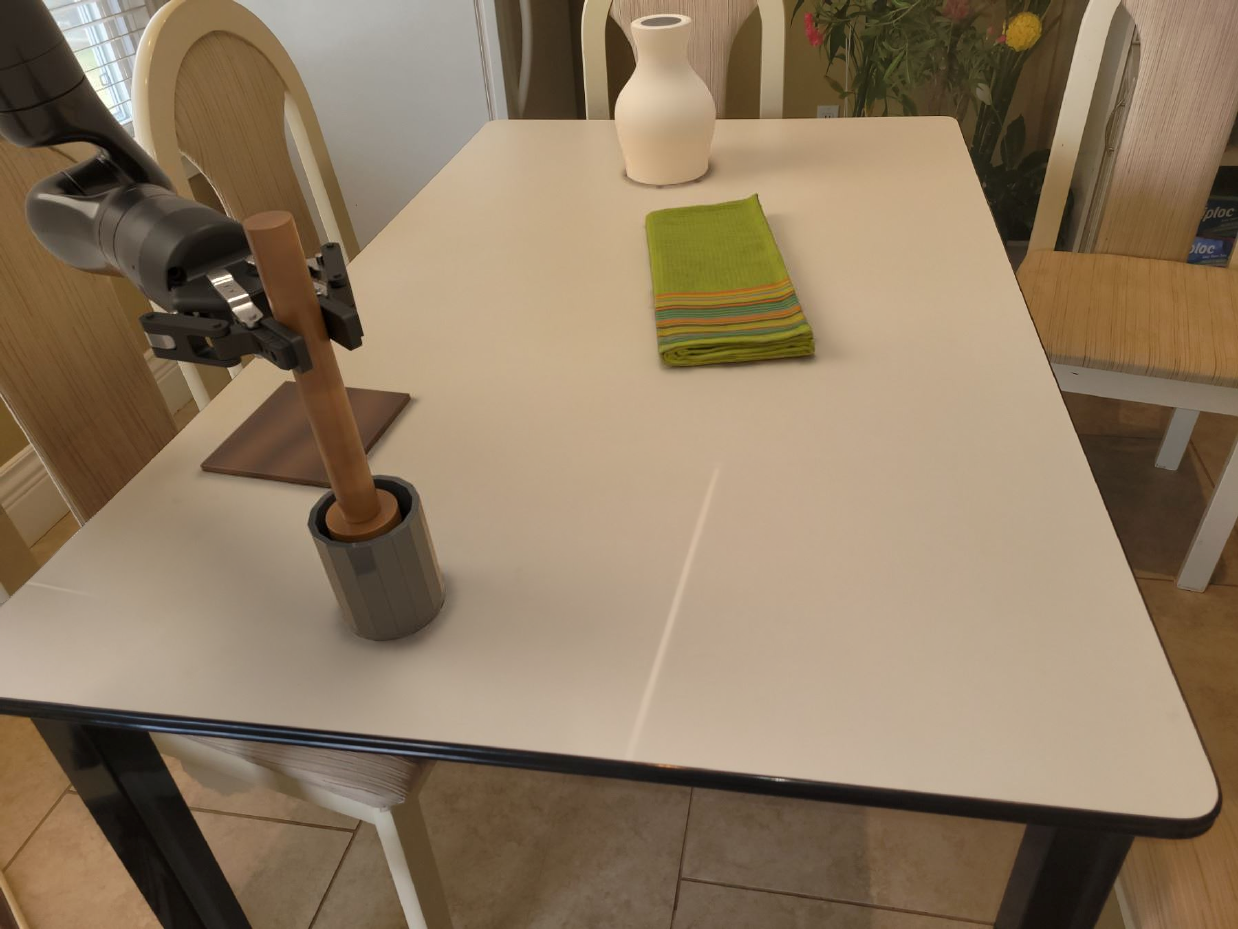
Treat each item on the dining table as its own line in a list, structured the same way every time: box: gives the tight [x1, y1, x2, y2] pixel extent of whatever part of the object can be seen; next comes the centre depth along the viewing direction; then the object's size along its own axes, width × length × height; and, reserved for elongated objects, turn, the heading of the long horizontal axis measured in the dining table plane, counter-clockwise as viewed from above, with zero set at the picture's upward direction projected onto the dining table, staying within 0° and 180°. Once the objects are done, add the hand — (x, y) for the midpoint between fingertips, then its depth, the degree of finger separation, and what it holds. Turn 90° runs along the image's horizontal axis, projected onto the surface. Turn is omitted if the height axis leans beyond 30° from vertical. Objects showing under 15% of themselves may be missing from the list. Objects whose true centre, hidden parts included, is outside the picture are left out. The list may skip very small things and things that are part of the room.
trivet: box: [199, 380, 411, 489], centre depth 83 cm, size 14×14×1 cm
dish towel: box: [644, 192, 816, 367], centre depth 100 cm, size 15×36×3 cm, turn 1°
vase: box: [614, 13, 717, 186], centre depth 124 cm, size 14×14×20 cm
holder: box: [306, 474, 446, 641], centre depth 63 cm, size 7×7×9 cm
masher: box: [241, 209, 402, 543], centre depth 54 cm, size 5×5×22 cm
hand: (329, 344), depth 50 cm, fingers closed on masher, 2 cm apart
